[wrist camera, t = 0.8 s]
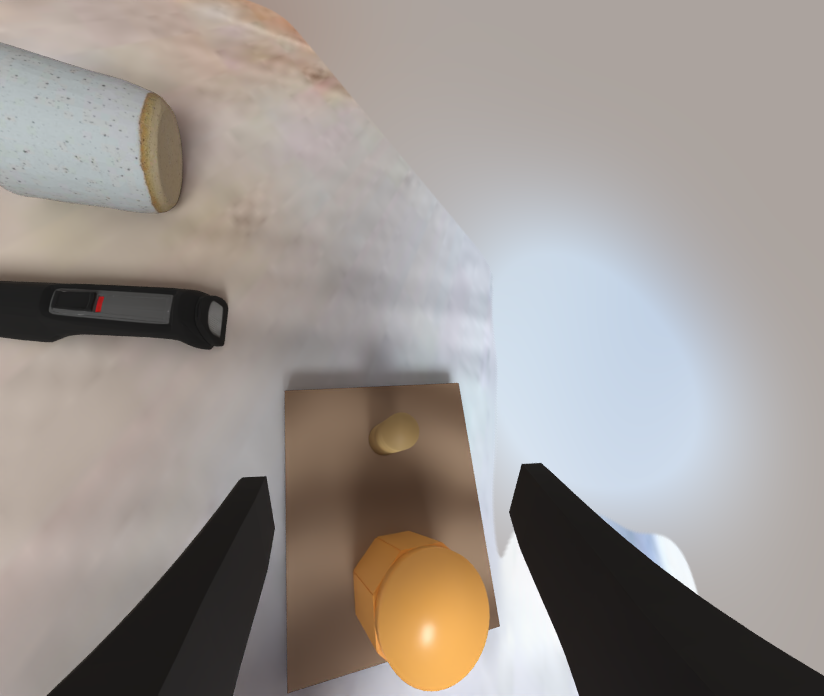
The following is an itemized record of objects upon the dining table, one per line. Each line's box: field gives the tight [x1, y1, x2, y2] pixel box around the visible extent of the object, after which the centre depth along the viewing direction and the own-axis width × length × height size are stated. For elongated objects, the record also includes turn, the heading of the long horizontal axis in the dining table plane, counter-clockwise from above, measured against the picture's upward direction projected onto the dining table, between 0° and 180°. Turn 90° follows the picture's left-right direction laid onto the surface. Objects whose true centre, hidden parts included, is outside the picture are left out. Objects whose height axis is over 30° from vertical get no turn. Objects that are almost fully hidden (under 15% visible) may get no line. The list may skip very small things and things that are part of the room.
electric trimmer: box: [0, 281, 228, 350], centre depth 20 cm, size 4×16×3 cm, turn 94°
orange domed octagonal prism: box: [353, 531, 490, 691], centre depth 18 cm, size 5×5×6 cm
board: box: [285, 383, 500, 693], centre depth 21 cm, size 15×12×6 cm
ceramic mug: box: [0, 42, 182, 213], centre depth 22 cm, size 11×8×8 cm
